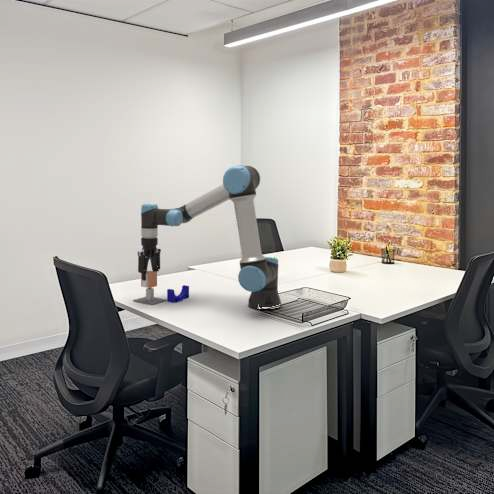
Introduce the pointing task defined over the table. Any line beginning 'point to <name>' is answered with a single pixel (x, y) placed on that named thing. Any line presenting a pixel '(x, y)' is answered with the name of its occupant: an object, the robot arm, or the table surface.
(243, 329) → the table surface
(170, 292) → the blue arch bracket
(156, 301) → the stand
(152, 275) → the peach clay cube
